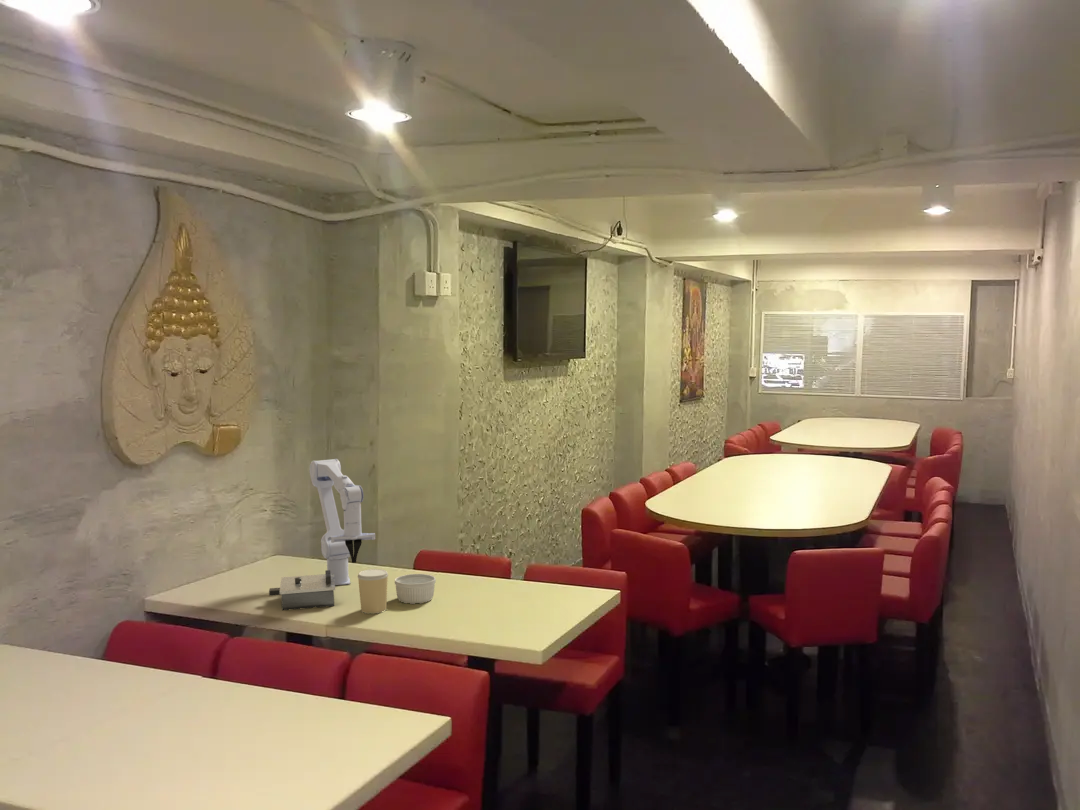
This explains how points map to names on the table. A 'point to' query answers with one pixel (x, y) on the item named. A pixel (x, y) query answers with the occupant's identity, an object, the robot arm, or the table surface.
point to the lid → (307, 583)
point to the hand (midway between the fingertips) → (353, 562)
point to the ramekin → (415, 588)
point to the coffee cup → (373, 590)
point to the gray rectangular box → (304, 599)
